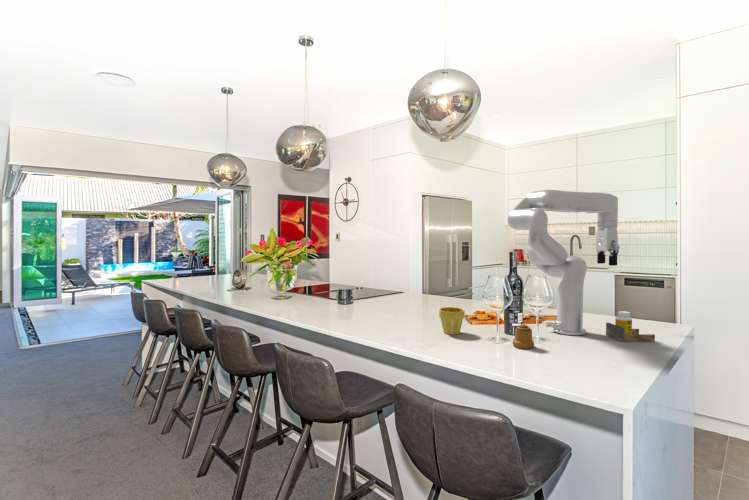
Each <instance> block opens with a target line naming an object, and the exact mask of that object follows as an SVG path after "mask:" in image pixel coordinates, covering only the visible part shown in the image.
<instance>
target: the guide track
mask: <svg viewBox="0 0 749 500" xmlns="http://www.w3.org/2000/svg"><path fill="white" fill-rule="evenodd" d="M605 336H607V337H609V338H612V339H613V340H615V341H618V342H622V343H623V342H626V343H627V342H629V343H630V341H645V342H655V341H656V335H655V334H652V333H649V334H646V333H645V334H640V329H639V328H632V335H624V328H622V327H619V326H617V325H615V324H614V323H611V322H605Z"/></svg>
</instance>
